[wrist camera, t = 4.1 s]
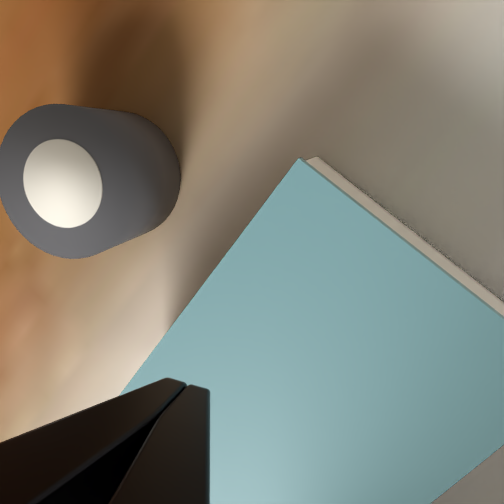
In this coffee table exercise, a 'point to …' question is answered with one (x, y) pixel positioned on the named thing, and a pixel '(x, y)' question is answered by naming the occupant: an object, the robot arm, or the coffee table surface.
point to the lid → (336, 359)
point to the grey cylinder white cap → (86, 178)
